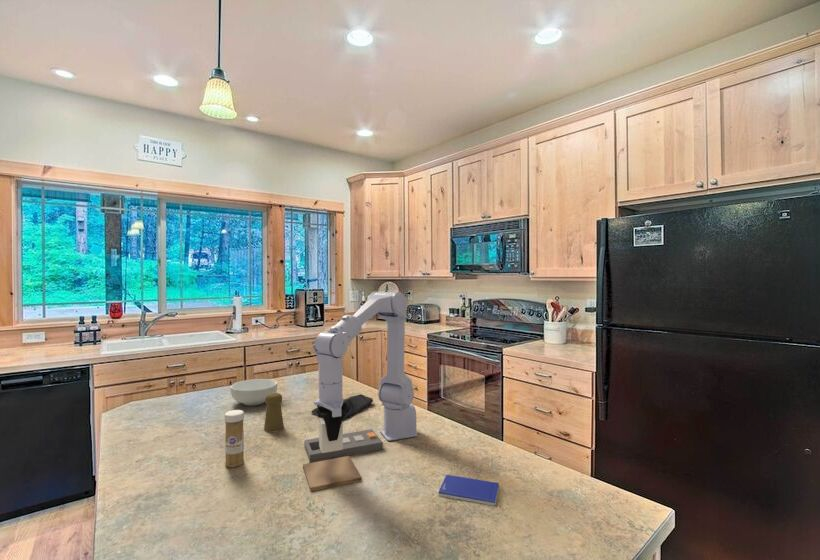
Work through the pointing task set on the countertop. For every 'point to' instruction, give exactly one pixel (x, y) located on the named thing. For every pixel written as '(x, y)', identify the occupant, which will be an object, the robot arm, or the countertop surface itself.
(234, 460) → the sprinkles bottle
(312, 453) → the power strip
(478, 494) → the hard drive
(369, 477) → the countertop surface
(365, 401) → the dark slate chunk
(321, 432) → the block
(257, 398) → the cereal bowl
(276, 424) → the cork
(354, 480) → the coaster
